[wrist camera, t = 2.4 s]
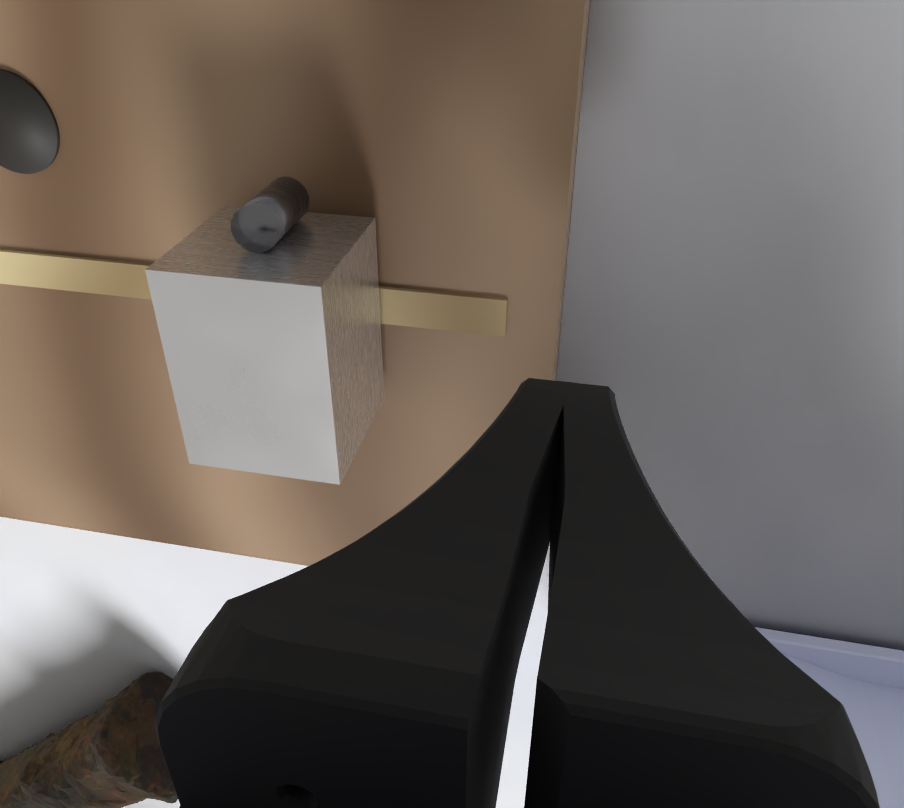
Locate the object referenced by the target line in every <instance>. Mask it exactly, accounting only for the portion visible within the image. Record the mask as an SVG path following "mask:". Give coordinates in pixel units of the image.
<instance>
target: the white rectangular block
mask: <svg viewBox="0 0 904 808" xmlns="http://www.w3.org/2000/svg"><path fill="white" fill-rule="evenodd" d="M309 205H310V199H309V195H308V192H307V190H306V188H305V187H304V186H303V185H302V184H301V183H300V182H299V181H298V180H296V179H294V178H291V177H287V176H283V177H279V178H277V179H275V180H274V181H272V182H271V183H270V184H269V185H268V186H266V187H265V188H264V189H263V190H262V191H260V192H259V193H258V194H257V195H256V196H254V197H253V198H252V199H251V200H250V201H249V202H247V203H246V204H245V205H244V206H243V207H239V206H227V205H225V206H224V207H223V208H221V209H220V210H219V211H218V212H216V213H215V214H214V215H213V216H211V217H210V218H209V219H208V220H206V221H205V222H204V223H203V224H201V225H200V226H199V227H198V228H196V229H195V230H194V231H193V232H191V233H190V234H189V235H188V236H186V237H185V238H184V239H183V240H181V241H180V242H179V243H178V244H176V245H175V246H174V247H173V248H171V249H170V250H169V251H168V252H166V253H165V254H164V255H163V256H161V257H160V258H159V259H158V260H156V261H155V262H154V263H153V264H151V265H150V266H149V267H148V268H146V269H145V272H146V277H147V281H148V285H149V290H150V294H151V298H152V303H153V307H154V312H155V316H156V320H157V325H158V329H159V333H160V338H161V342H162V347H163V351H164V355H165V360H166V364H167V368H168V373H169V377H170V381H171V386H172V390H173V395H174V399H175V403H176V408H177V412H178V416H179V421H180V425H181V430H182V434H183V438H184V443H185V447H186V451H187V456H188V460H189V464H196V465H203V466H210V467H217V468H224V469H232V470H239V471H246V472H253V473H260V474H267V475H274V476H281V477H288V478H295V479H302V480H309V481H317V482H324V483H331V484H338V485H340V484H341V482H342V480H343V478H344V476H345V474H346V472H347V470H348V468H349V466H350V464H351V462H352V460H353V458H354V456H355V454H356V452H357V450H358V448H359V446H360V444H361V442H362V440H363V438H364V436H365V434H366V432H367V430H368V428H369V426H370V424H371V422H372V420H373V418H374V416H375V414H376V412H377V411H378V409H379V407H380V405H381V403H382V401H383V399H384V397H385V396H384V377H383V358H382V338H381V319H380V300H379V281H378V262H377V242H376V223H375V218H373V217H360V216H348V215H336V214H324V213H312V212H307V211H308V209H309Z"/></svg>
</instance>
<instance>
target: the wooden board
mask: <svg viewBox="0 0 904 808" xmlns="http://www.w3.org/2000/svg"><path fill="white" fill-rule="evenodd" d="M589 7H590V0H0V517H6V518H13V519H19V520H25V521H31V522H38V523H44V524H50V525H56V526H63V527H69V528H75V529H81V530H88V531H94V532H100V533H106V534H113V535H119V536H125V537H131V538H138V539H144V540H150V541H156V542H163V543H169V544H175V545H181V546H188V547H194V548H200V549H206V550H213V551H219V552H225V553H231V554H238V555H244V556H250V557H256V558H263V559H269V560H275V561H281V562H288V563H294V564H300V565H306V566H310V565H312V564H314V563H316V562H318V561H320V560H322V559H324V558H326V557H328V556H330V555H331V554H333V553H335V552H337V551H339V550H341V549H342V548H344V547H346V546H348V545H350V544H351V543H353V542H355V541H356V540H358V539H359V538H361V537H363V536H364V535H366V534H367V533H369V532H370V531H372V530H373V529H375V528H376V527H378V526H379V525H381V524H382V523H383V522H385V521H386V520H388V519H389V518H391V517H392V516H393V515H395V514H396V513H398V512H399V511H400V510H402V509H403V508H404V507H406V506H407V505H408V504H409V503H411V502H412V501H413V500H415V499H416V498H417V497H418V496H420V495H421V494H422V493H423V492H424V491H426V490H427V489H428V488H429V487H430V486H431V485H433V484H434V483H435V482H436V481H437V480H438V479H439V478H440V477H441V476H443V475H444V474H445V473H446V472H447V471H448V470H449V469H450V468H451V467H452V466H453V465H454V464H455V463H456V462H457V461H458V460H459V459H460V458H461V457H462V456H463V455H464V454H465V453H466V452H467V451H468V450H469V449H470V448H471V447H472V446H473V445H474V443H475V442H476V441H477V440H478V439H479V438H480V437H481V435H482V434H483V433H484V432H485V431H486V430H487V429H488V428H489V426H490V425H491V424H492V423H493V422H494V421H495V419H496V418H497V417H498V415H499V414H500V413H501V412H502V410H503V409H504V408H505V407H506V405H507V404H508V403H509V401H510V400H511V398H512V397H513V395H514V394H515V392H516V391H517V389H518V388H519V386H520V384H521V383H522V382H524V381H525V380H526V379H528V378H535V379H544V380H553V381H556V372H557V361H558V350H559V339H560V328H561V317H562V306H563V295H564V283H565V272H566V261H567V250H568V239H569V228H570V217H571V206H572V195H573V184H574V173H575V162H576V151H577V140H578V129H579V118H580V107H581V96H582V85H583V74H584V63H585V52H586V41H587V30H588V18H589ZM283 176H287V177H291V178H294V179H296V180H298V181H299V182H300V183H301V184H302V185H303V186H304V187H305V188H306V190H307V192H308V195H309V199H310V205H309V209H308V211H307V212H312V213H324V214H336V215H348V216H360V217H373V218H375V223H376V242H377V262H378V281H379V300H380V319H381V338H382V358H383V377H384V396H385V397H384V399H383V401H382V403H381V405H380V407H379V409H378V411H377V412H376V414H375V416H374V418H373V420H372V422H371V424H370V426H369V428H368V430H367V432H366V434H365V436H364V438H363V440H362V442H361V444H360V446H359V448H358V450H357V452H356V454H355V456H354V458H353V460H352V462H351V464H350V466H349V468H348V470H347V472H346V474H345V476H344V478H343V480H342V482H341V484H340V485H338V484H331V483H324V482H317V481H309V480H302V479H295V478H288V477H281V476H274V475H267V474H260V473H253V472H246V471H239V470H232V469H224V468H217V467H210V466H203V465H196V464H189V460H188V456H187V451H186V447H185V443H184V438H183V434H182V430H181V425H180V421H179V416H178V412H177V408H176V403H175V399H174V395H173V390H172V386H171V381H170V377H169V373H168V368H167V364H166V360H165V355H164V351H163V347H162V342H161V338H160V333H159V329H158V325H157V320H156V316H155V312H154V307H153V303H152V298H151V294H150V290H149V285H148V281H147V277H146V272H145V269H146V268H148V267H149V266H150V265H151V264H153V263H154V262H155V261H156V260H158V259H159V258H160V257H161V256H163V255H164V254H165V253H166V252H168V251H169V250H170V249H171V248H173V247H174V246H175V245H176V244H178V243H179V242H180V241H181V240H183V239H184V238H185V237H186V236H188V235H189V234H190V233H191V232H193V231H194V230H195V229H196V228H198V227H199V226H200V225H201V224H203V223H204V222H205V221H206V220H208V219H209V218H210V217H211V216H213V215H214V214H215V213H216V212H218V211H219V210H220V209H221V208H223V207H224V206H225V205H227V206H239V207H243V206H244V205H245V204H246V203H247V202H249V201H250V200H251V199H252V198H253V197H254V196H256V195H257V194H258V193H259V192H260V191H262V190H263V189H264V188H265V187H266V186H268V185H269V184H270V183H271V182H272V181H274V180H275V179H277V178H279V177H283Z"/></svg>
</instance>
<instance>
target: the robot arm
mask: <svg viewBox="0 0 904 808" xmlns="http://www.w3.org/2000/svg"><path fill="white" fill-rule="evenodd" d="M549 542H550V561H549V592H548V616H547V622H546V628H545V634H544V640H543V646H542V652H541V659H540V665H539V671H538V676H537V685H536V695H535V705H534V715H533V726H532V736H531V746H530V756H529V766H528V776H527V786H526V796H525V806H524V808H904V651H902V650H896V649H890V648H884V647H877V646H871V645H865V644H858V643H852V642H846V641H839V640H833V639H827V638H820V637H814V636H808V635H801V634H795V633H789V632H782V631H776V630H770V629H763V628H757V627H754V626H753V625H752V624H751V623H750V622H749V621H748V620H747V619H746V618H745V617H744V616H743V615H742V614H741V613H740V611H739V610H738V609H737V608H736V607H735V606H734V605H733V604H732V603H731V601H730V600H729V599H728V598H727V597H726V596H725V595H724V594H723V593H722V591H721V590H720V589H719V588H718V587H717V586H716V585H715V584H714V582H713V581H712V580H711V579H710V577H709V576H708V575H707V574H706V572H705V571H704V570H703V568H702V567H701V566H700V565H699V563H698V562H697V561H696V559H695V558H694V557H693V555H692V554H691V553H690V551H689V550H688V548H687V547H686V545H685V544H684V543H683V541H682V540H681V538H680V537H679V536H678V534H677V532H676V531H675V529H674V528H673V526H672V525H671V523H670V522H669V520H668V518H667V517H666V515H665V513H664V512H663V510H662V508H661V507H660V505H659V503H658V501H657V500H656V498H655V496H654V494H653V492H652V491H651V489H650V487H649V485H648V483H647V481H646V479H645V477H644V475H643V473H642V471H641V469H640V467H639V464H638V462H637V460H636V458H635V456H634V454H633V451H632V449H631V447H630V444H629V442H628V439H627V437H626V434H625V431H624V428H623V426H622V423H621V420H620V417H619V413H618V410H617V405H616V401H615V394H614V393H613V392H612V390H611V389H610V388H609V387H606V386H597V385H588V384H579V383H571V382H562V381H553V380H544V379H535V378H528V379H526V380H525V381H524V382H522V383H521V384H520V386H519V388H518V389H517V391H516V392H515V394H514V395H513V397H512V398H511V400H510V401H509V403H508V404H507V405H506V407H505V408H504V409H503V410H502V412H501V413H500V414H499V415H498V417H497V418H496V419H495V421H494V422H493V423H492V424H491V425H490V426H489V428H488V429H487V430H486V431H485V432H484V433H483V434H482V435H481V437H480V438H479V439H478V440H477V441H476V442H475V443H474V445H473V446H472V447H471V448H470V449H469V450H468V451H467V452H466V453H465V454H464V455H463V456H462V457H461V458H460V459H459V460H458V461H457V462H456V463H455V464H454V465H453V466H452V467H451V468H450V469H449V470H448V471H447V472H446V473H445V474H444V475H443V476H441V477H440V478H439V479H438V480H437V481H436V482H435V483H434V484H433V485H431V486H430V487H429V488H428V489H427V490H426V491H424V492H423V493H422V494H421V495H420V496H418V497H417V498H416V499H415V500H413V501H412V502H411V503H409V504H408V505H407V506H406V507H404V508H403V509H402V510H400V511H399V512H398V513H396V514H395V515H393V516H392V517H391V518H389V519H388V520H386V521H385V522H383V523H382V524H381V525H379V526H378V527H376V528H375V529H373V530H372V531H370V532H369V533H367V534H366V535H364V536H363V537H361V538H359V539H358V540H356V541H355V542H353V543H351V544H350V545H348V546H346V547H344V548H342V549H341V550H339V551H337V552H335V553H333V554H331V555H330V556H328V557H326V558H324V559H322V560H320V561H318V562H316V563H314V564H312V565H310V566H308V567H306V568H304V569H302V570H300V571H297V572H295V573H293V574H291V575H289V576H286V577H284V578H282V579H279V580H277V581H274V582H272V583H270V584H267V585H265V586H262V587H260V588H257V589H255V590H253V591H250V592H248V593H245V594H243V595H240V596H238V597H235V598H232V599H229V600H228V601H226V603H225V604H224V605H223V607H222V608H221V610H220V611H219V612H218V614H217V615H216V616H215V618H214V619H213V620H212V622H211V623H210V624H209V625H208V626H207V628H206V629H205V630H204V632H203V633H202V635H201V636H200V637H199V639H198V640H197V642H196V643H195V645H194V646H193V648H192V649H191V651H190V653H189V654H188V656H187V658H186V659H185V661H184V663H183V665H182V666H181V668H180V670H179V671H178V673H177V675H176V677H175V678H174V680H173V682H172V684H171V685H170V687H169V689H168V690H167V692H166V694H165V696H164V697H163V699H162V701H161V702H160V705H159V708H158V711H157V714H156V717H155V726H156V732H157V739H158V742H159V745H160V748H161V751H162V753H163V756H164V759H165V762H166V765H167V768H168V771H169V774H170V776H171V779H172V782H173V785H174V788H175V791H176V794H177V796H178V799H179V802H180V805H181V806H180V808H495V807H496V800H497V794H498V787H499V781H500V774H501V767H502V761H503V754H504V748H505V741H506V734H507V728H508V722H509V715H510V709H511V702H512V696H513V689H514V683H515V678H516V673H517V669H518V664H519V659H520V655H521V651H522V647H523V643H524V639H525V636H526V632H527V628H528V624H529V620H530V616H531V612H532V609H533V605H534V601H535V597H536V593H537V589H538V585H539V582H540V578H541V574H542V570H543V566H544V562H545V558H546V554H547V550H548V546H549Z"/></svg>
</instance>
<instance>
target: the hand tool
mask: <svg viewBox="0 0 904 808" xmlns="http://www.w3.org/2000/svg"><path fill="white" fill-rule="evenodd" d="M172 682H173V679H171V678H169V677H167V676H165V675H163V674H161V673H158V672H153V673H145V674H143V675H141V676H140V677H139V678H137V679H136V680H135V681H133V682H132V683H131V685H129V686H127V687H126V688H125V689H124V690H123V691H122V692H120V693H119V694H118V695H117V696H115V697H114V698H112V699H110V700H108V701H107V702H106V705H105V708H103V709H102V710H100V711H99V712H97V713H94V714H92V715H89V716H86V717H84V718H82V719H80V720H78V721H77V722H75V723H73V724H71V725H69V726H68V727H66V728H65V729H64V730H62V731H61V732H60V733H58V734H52V733H50V734H49V735H48V737H47V738H46V739H44V740H43V741H41V742H40V743H38V744H36V745H34V746H31V747H30V748H28V749H27V750H26V751H24V752H22V753H21V754H19V755H17V756H15V757H13V758H11V759H9V760H7V761H5V762H2V761H0V808H121V807H123V806H127V805H130V804H134V803H138V802H139V801H143V800H144V799H146V798H150V799H157V800H161V801H165V802H167V803H174V802H176V800H177V799H178V796H177V794H176V791H175V788H174V785H173V782H172V779H171V776H170V774H169V771H168V768H167V765H166V762H165V759H164V756H163V753H162V751H161V748H160V745H159V742H158V739H157V732H156V726H155V717H156V714H157V711H158V708H159V705H160V702H161V701H162V699H163V697H164V696H165V694H166V692H167V690H168V689H169V687H170V685H171V684H172Z"/></svg>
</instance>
